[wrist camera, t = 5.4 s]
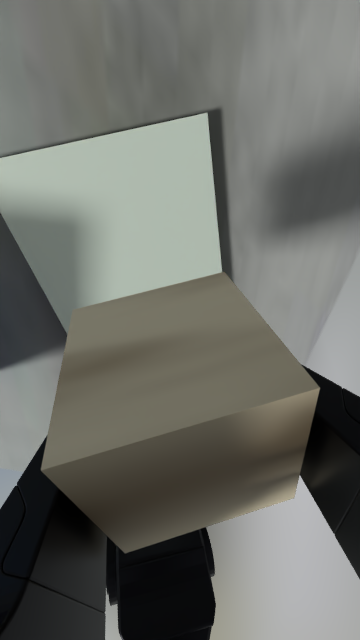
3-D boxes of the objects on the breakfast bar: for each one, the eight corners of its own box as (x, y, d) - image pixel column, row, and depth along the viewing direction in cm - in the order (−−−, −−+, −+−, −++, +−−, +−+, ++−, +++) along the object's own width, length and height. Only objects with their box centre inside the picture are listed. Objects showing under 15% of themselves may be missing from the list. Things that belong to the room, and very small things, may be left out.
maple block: (231, 373, 12) (294, 498, 8) (119, 405, 11) (125, 553, 7) (224, 271, 9) (320, 387, 5) (72, 309, 8) (40, 470, 4)
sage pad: (220, 296, 22) (224, 303, 21) (74, 336, 21) (73, 344, 20) (202, 113, 15) (207, 112, 14) (-19, 162, 14) (-27, 164, 13)
